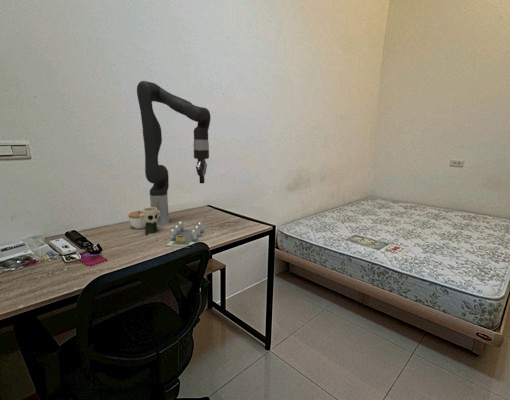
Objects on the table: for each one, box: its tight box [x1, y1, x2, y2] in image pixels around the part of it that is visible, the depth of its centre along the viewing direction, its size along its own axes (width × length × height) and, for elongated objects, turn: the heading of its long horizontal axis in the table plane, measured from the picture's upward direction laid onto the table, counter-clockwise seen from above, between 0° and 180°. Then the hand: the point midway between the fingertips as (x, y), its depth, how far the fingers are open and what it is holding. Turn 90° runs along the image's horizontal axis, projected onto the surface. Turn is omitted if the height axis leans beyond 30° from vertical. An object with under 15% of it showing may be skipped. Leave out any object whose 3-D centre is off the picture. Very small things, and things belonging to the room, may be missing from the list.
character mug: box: [140, 206, 160, 235], centre depth 150 cm, size 11×7×13 cm, turn 138°
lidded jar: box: [128, 210, 146, 230], centre depth 159 cm, size 11×11×9 cm
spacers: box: [169, 220, 204, 243], centre depth 144 cm, size 13×15×6 cm
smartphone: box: [78, 250, 108, 267], centre depth 121 cm, size 8×1×15 cm
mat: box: [165, 228, 205, 248], centre depth 143 cm, size 12×24×2 cm, turn 177°
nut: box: [176, 235, 185, 244], centre depth 136 cm, size 4×5×3 cm
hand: (202, 183), depth 150 cm, fingers closed
